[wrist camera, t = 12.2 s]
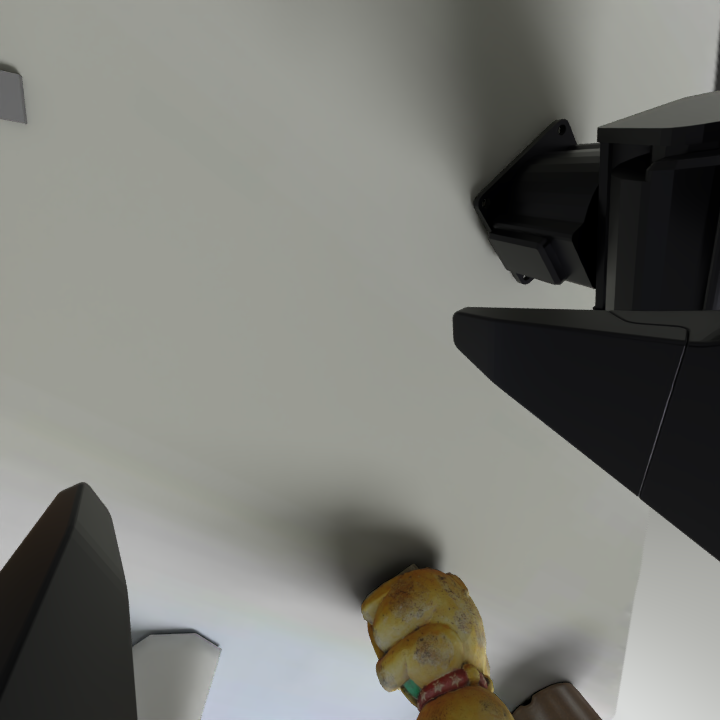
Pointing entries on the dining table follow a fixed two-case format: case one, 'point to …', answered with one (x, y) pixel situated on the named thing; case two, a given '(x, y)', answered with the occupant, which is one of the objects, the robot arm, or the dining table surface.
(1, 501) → the dining table surface
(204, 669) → the flask
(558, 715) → the plant pot
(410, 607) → the decorative figurine
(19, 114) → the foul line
